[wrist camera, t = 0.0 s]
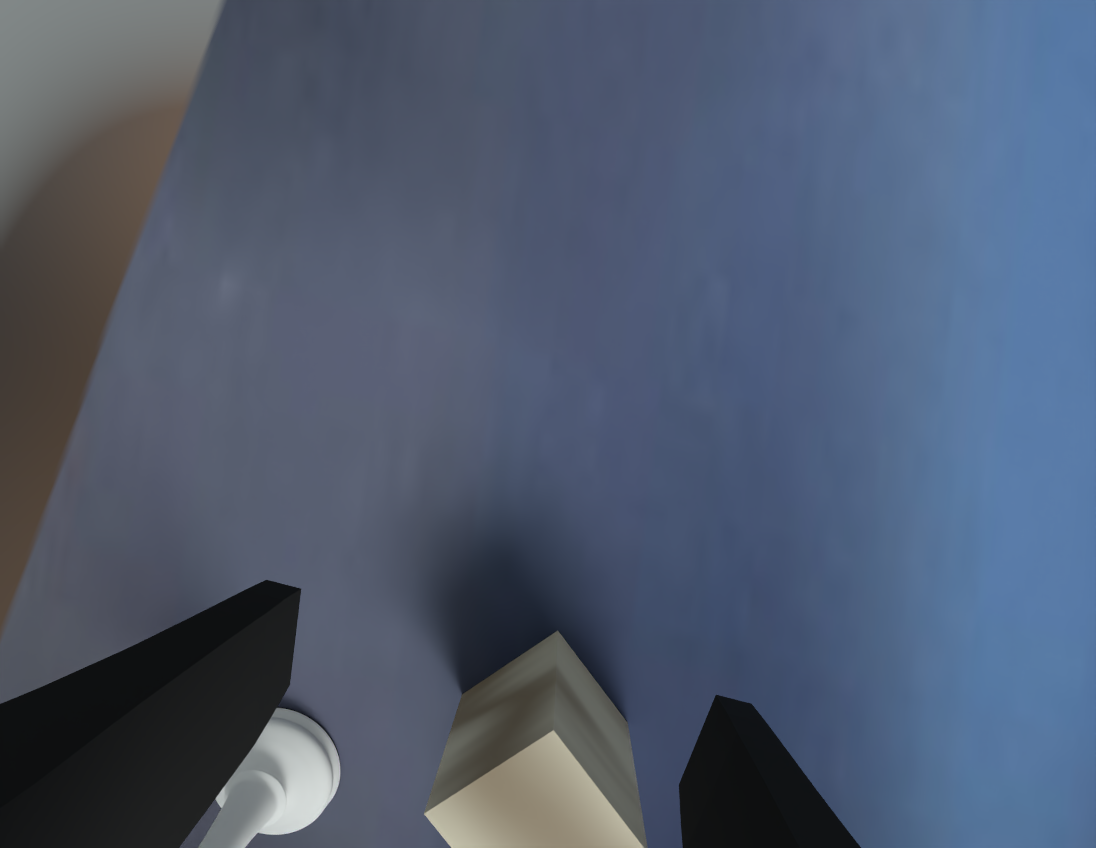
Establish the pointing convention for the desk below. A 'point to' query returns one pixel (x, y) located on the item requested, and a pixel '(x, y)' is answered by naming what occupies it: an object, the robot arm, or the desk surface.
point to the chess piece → (277, 783)
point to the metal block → (538, 761)
